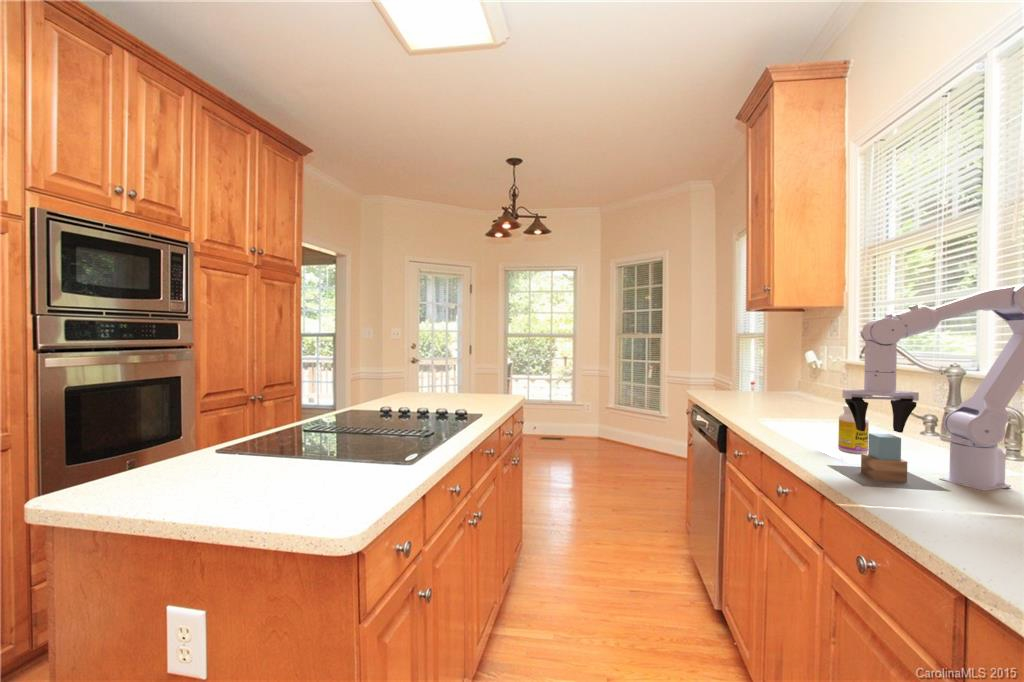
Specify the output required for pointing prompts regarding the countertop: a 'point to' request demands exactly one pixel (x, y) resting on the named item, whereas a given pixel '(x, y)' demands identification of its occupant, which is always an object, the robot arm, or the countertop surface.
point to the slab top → (883, 464)
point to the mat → (865, 480)
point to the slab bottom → (884, 474)
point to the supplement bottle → (852, 434)
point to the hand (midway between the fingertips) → (879, 431)
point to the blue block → (884, 447)
